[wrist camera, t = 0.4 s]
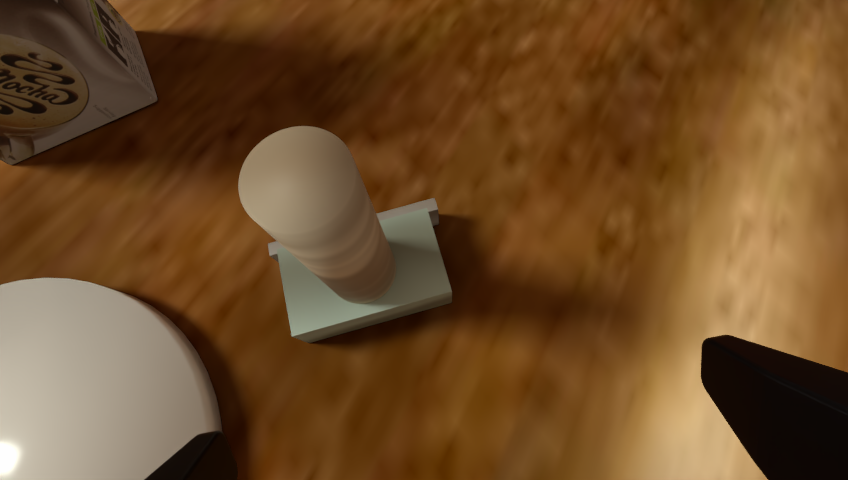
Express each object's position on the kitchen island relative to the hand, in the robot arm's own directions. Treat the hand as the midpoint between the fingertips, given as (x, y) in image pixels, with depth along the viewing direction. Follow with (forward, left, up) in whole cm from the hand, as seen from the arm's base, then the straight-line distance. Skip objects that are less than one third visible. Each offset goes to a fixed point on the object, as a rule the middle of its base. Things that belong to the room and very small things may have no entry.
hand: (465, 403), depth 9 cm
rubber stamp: (+7, +1, -13) cm, 14 cm away
